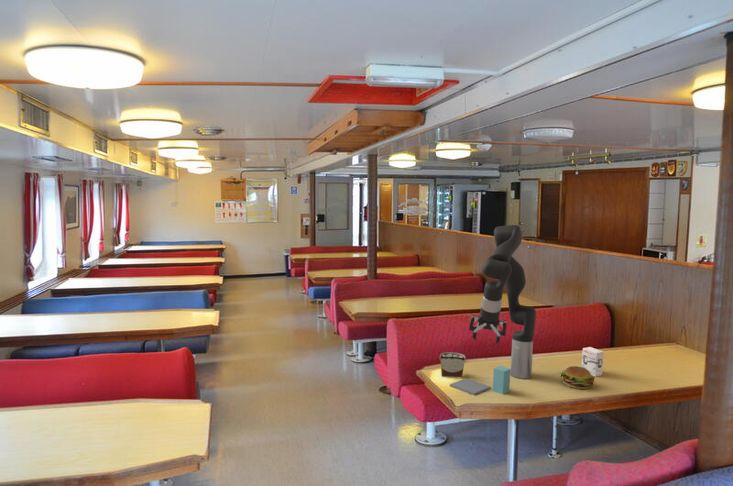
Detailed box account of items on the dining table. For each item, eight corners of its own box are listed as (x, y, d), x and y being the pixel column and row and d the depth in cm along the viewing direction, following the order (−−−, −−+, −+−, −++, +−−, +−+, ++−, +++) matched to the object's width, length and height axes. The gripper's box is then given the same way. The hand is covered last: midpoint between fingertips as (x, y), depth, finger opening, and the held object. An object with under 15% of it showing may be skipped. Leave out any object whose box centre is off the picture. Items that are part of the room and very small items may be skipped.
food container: (464, 373, 239) (465, 352, 238) (465, 377, 233) (466, 356, 232) (437, 371, 240) (438, 351, 239) (438, 376, 234) (439, 355, 233)
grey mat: (466, 379, 230) (466, 378, 230) (490, 388, 221) (490, 386, 221) (449, 386, 222) (449, 384, 222) (474, 395, 213) (474, 393, 213)
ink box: (580, 371, 246) (582, 347, 245) (587, 369, 248) (589, 346, 247) (595, 377, 238) (596, 352, 237) (602, 375, 241) (604, 351, 239)
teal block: (499, 388, 222) (500, 365, 221) (509, 391, 218) (510, 368, 217) (492, 390, 218) (493, 368, 217) (502, 394, 215) (504, 371, 214)
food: (574, 377, 238) (575, 360, 237) (599, 387, 225) (601, 370, 225) (552, 381, 232) (553, 364, 231) (578, 392, 219) (579, 374, 218)
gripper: (509, 304, 201) (503, 338, 208) (473, 299, 204) (468, 332, 211) (509, 314, 194) (503, 349, 201) (472, 308, 197) (467, 343, 204)
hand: (485, 340), depth 206 cm, fingers open, 8 cm apart
